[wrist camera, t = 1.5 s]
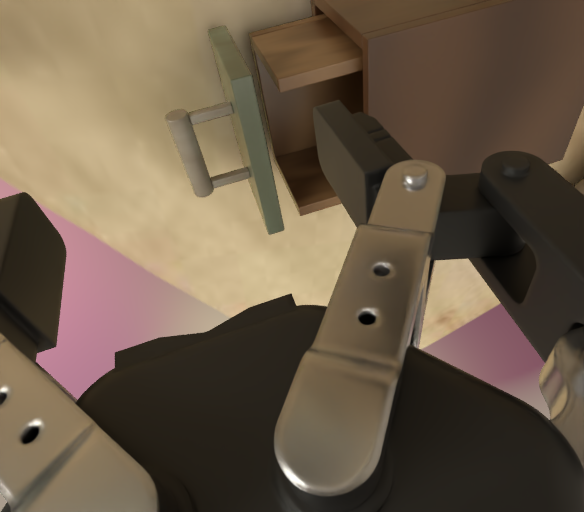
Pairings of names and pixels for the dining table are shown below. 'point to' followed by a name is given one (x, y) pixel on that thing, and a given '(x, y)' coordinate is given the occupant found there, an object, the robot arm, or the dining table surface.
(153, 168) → the dining table surface
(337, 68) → the drawer
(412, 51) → the cabinet
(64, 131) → the dining table surface
